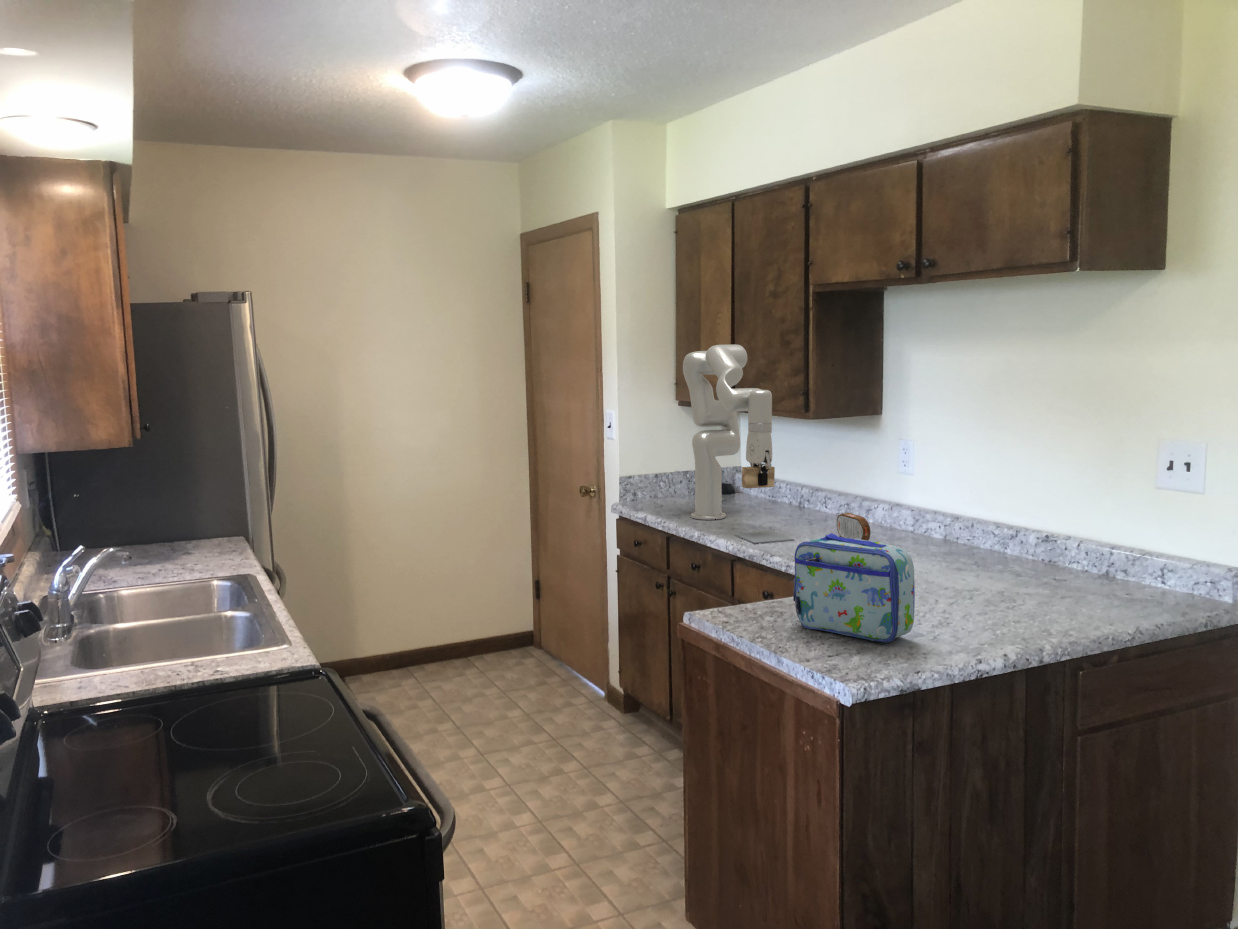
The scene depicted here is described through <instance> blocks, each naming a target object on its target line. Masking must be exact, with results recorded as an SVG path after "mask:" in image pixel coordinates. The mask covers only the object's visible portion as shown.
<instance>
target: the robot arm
mask: <svg viewBox="0 0 1238 929" xmlns="http://www.w3.org/2000/svg"><path fill="white" fill-rule="evenodd" d="M747 363H748V354H747V351H746V349H745V348H744V347H743V346H742V345H740V344H716V345H712V346H710V347H709V348H708V349H707V350H698V351H697V350H696V351H693V352H689V353H687V354H686V355H685V356H684V359H683V362H682V373H683V377H684V380H685V382H686V386H687V388H688V391H689V398H690V406H691V413H692V419H693V422H694V424H695V425H696V426H697V427H699V428H714V427H715V428H716V427H720V428H721V429H706V430H700V431H697V432H696V433H695V434H694V435H693V436H692V441H691V446H692V450H693V457H694V458H693V459H694V487H695V488H694V490H695V491H694V492H695V493H694V499H695V502H694V504H695V505H694V510H695V511H694V512H691V514H690V517H691V518H692V519H696V520H703V521H704V520H706V521H708V520H709V521H712V520H713V521H714V520H715V519H716V520H721V519H725V518H726V517H727V514H726V513H725V512H723V511H722V510H723V508H722V501H723V500H722V498H723V496H722V493H723V492H722V491H723V490H722V477H723V476H722V474H723V472H722V466H721V465H720V463H719V461H718V460H717V459H716V457H726V456H727V457H728V456H734V455H736V454H737V453H739V451H740V448H741V436H740V428H739V422H738V415H737V413H738V412H748V416H747V420H748V421H747V422H748V423H747V424H748V425H747V430H748V431H747V439H746V448H745V449H746V450H745V460H746V461H747V463H749V464H750V467H754V466H759V473H758V486H766V485H768V470H769V468H770V467H771V466H772V462H773V445H772V444H773V440H772V439H773V438H772V433H773V432H772V431H773V421H772V420H773V394H772V392H771V391H770V390H768V389H761V388H759V387H758V388H757V387H756V388H755V387H749V388H748V387H744V388H742V387H741V388H740V387H739V388H732V387H734V386H736V385H737V384H738V383H739V382H740V381H741V379H742V378H743V376H744V371H743V369H744V367H745V366H746V365H747ZM704 375H707V376H708V375H710V376H711V375H715V376H716V378H717V381H716V385H715V386H716V387H715V389H716V390H715V391H716V396H717V399H715V397H714V396H715V395H714V389H713V386H712V384H711V383H710V381H709V380H708V379H707V378H706V377H704ZM762 466H763V468H762Z"/></svg>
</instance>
